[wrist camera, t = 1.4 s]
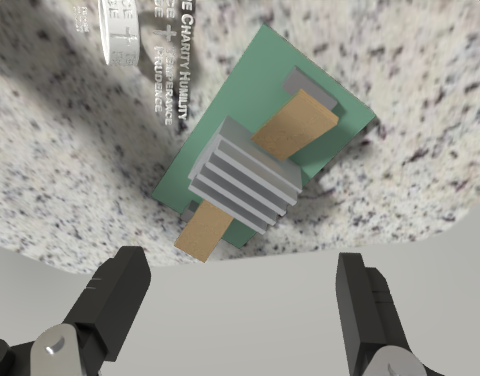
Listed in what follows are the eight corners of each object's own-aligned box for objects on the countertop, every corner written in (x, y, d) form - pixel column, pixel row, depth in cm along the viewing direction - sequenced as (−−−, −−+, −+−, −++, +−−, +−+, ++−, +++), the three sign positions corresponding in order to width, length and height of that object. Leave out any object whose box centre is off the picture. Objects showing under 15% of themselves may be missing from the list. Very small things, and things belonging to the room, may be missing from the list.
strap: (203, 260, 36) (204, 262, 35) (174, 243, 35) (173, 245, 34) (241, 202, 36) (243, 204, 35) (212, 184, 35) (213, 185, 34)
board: (240, 241, 44) (232, 290, 37) (154, 189, 41) (127, 231, 34) (372, 110, 32) (397, 145, 25) (264, 22, 29) (257, 34, 22)
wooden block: (284, 155, 32) (281, 161, 32) (252, 133, 31) (250, 139, 31) (338, 117, 25) (336, 124, 25) (300, 88, 24) (297, 94, 24)
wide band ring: (57, -112, 24) (57, -126, 19) (185, -81, 28) (211, -86, 23) (88, 114, 34) (93, 141, 29) (178, 111, 38) (196, 135, 33)
